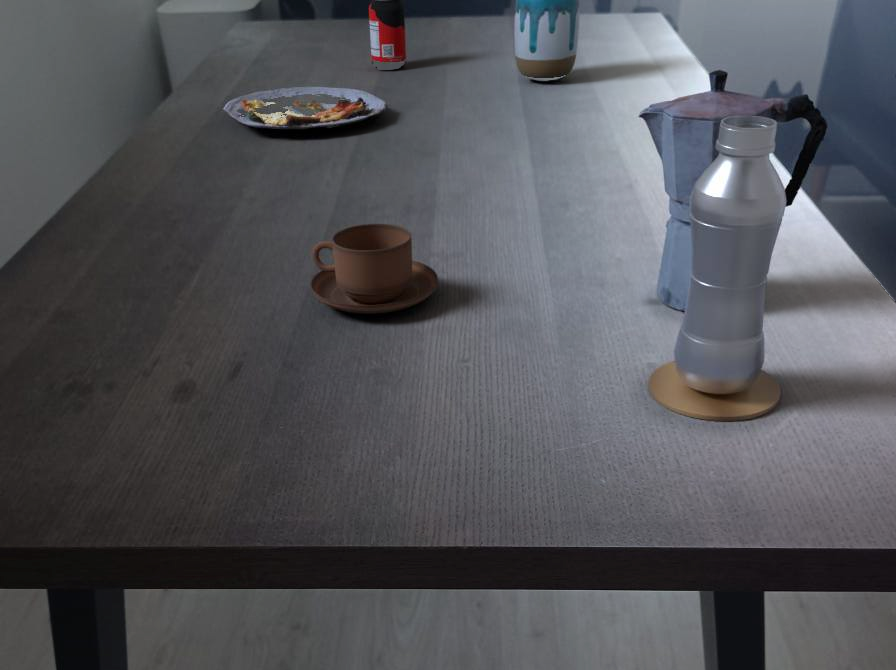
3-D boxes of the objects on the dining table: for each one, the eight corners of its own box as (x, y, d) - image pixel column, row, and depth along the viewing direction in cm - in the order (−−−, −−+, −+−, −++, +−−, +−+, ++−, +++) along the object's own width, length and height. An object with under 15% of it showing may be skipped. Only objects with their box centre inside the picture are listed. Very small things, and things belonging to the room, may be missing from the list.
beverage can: (406, 71, 187) (403, -2, 181) (371, 72, 187) (367, 0, 181) (406, 64, 193) (403, -7, 186) (372, 65, 193) (368, -6, 186)
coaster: (755, 358, 85) (756, 353, 85) (799, 417, 77) (800, 412, 77) (635, 365, 85) (635, 360, 85) (666, 425, 77) (667, 420, 77)
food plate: (409, 126, 154) (408, 101, 152) (260, 150, 146) (257, 124, 144) (344, 94, 173) (343, 72, 171) (209, 114, 165) (206, 91, 163)
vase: (537, 90, 170) (540, -39, 160) (501, 79, 178) (502, -45, 168) (589, 81, 175) (595, -46, 164) (552, 71, 182) (556, -51, 172)
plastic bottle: (751, 411, 77) (794, 137, 66) (661, 395, 80) (688, 130, 69) (766, 374, 82) (808, 114, 71) (680, 361, 85) (709, 107, 74)
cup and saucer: (307, 327, 94) (301, 262, 91) (317, 277, 104) (312, 217, 101) (439, 322, 94) (437, 257, 90) (437, 273, 104) (435, 213, 101)
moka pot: (626, 274, 102) (643, 58, 91) (790, 281, 99) (828, 59, 88) (622, 313, 94) (640, 82, 83) (801, 322, 91) (843, 83, 80)
